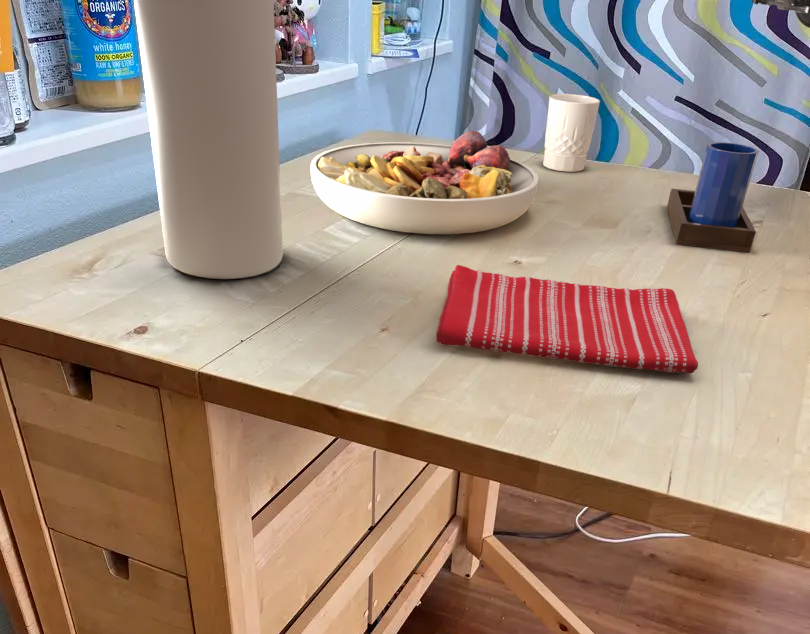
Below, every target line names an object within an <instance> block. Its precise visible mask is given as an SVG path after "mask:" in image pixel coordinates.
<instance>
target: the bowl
mask: <svg viewBox="0 0 810 634" xmlns="http://www.w3.org/2000/svg"><path fill="white" fill-rule="evenodd" d="M310 177H311V182H312V185H313V188H314V190H315V192H316V194H317V196H318V197H319V199H320V200H321V201H322V202H323V203H324V205H326V206H327V207H329V208H330V209H331V210H332V211H334V212H335V213H337V214H339V215H340V216H343V217H345V218H347V219H349V220H352V221H354V222H357V223H359V224H363V225H367V226H370V227H375V228H379V229H382V230H383V229H384V230H387V231H388V230H389V231H395V232H401V233H409V234H422V235H459V234H460V235H461V234H462V235H463V234H471V233H479V232H485V231H490V230H493V229H498V228H500V227H503V226H505V225H507V224H510V223H512V222H514V221H516V220H517V219H519V218H520V217H521V216H522V215H523V214H525V213H526V212H527V211H528V209H530V207H531V206H532V204H533V202H534V200H535V199H536V196H537V193H538V188H539V182H540V178H539V175H538V173H537V172H536V171H535V170H534V169H533V168H531V167H530V166H529V165H527V164H525V163H523V162H521V161H518V160H517V159H515V158H511V157H510V155H509V152H508V150H506V148H505V147H504V146H502V145H499V144H497V145H496V144H495V145H489V146H488V145H487V141H486V138H485V136H483V134H482V133H480V132H479V131H477V130H469V131H465V132H463V133H462V134H461V135H460V136H458V137H457V138H456V139H455V140H454V141H453V143H452V145H450V144H443V143H442V144H441V143H430V142H429V143H428V142H412V141H411V142H410V141H409V142H408V141H383V142H367V143H356V144H350V145H344V146H339V147H335V148H331V149H328V150H325V151H322V152H320V153H319V154H317V155H316V156H314V157H313V159H311V162H310Z"/></svg>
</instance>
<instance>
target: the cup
mask: <svg viewBox="0 0 810 634" xmlns="http://www.w3.org/2000/svg"><path fill="white" fill-rule="evenodd" d="M758 155H759V150H758V149H757V148H755V147H753V146H750V145H746V144H741V143H735V142H726V141H725V142H723V141H722V142H721V141H717V142H709V143H707V145H706V149H705V153H704V155H703V160H702V164H701V168H700V172H699V175H698V180H697V182H696V186H695V190H694V191H695V194H694V198H693V202H692V206H691V209H690V213H689V217H688V221H687V223H688V222H689V223H698V224H708V225H717V226H726V227H735V228H736V226H737V223H738V219H739V216H740V213H741V209H742V206H743V207H744V202H745V199H746V196H747V192H748V189H749V186H750V183H751V179H752V177H753V176H752V175H753V172H754V169H755V165H756V163H757V160H758Z"/></svg>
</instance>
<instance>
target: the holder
mask: <svg viewBox="0 0 810 634" xmlns="http://www.w3.org/2000/svg"><path fill="white" fill-rule="evenodd" d="M694 194H695V190H689V189H680V188H671V189H670V192H669V197H668V201H667V205H666V209H667V214H668V217H669V221H670V225H671V229H672V233H673V236H674V241H675V244H676V245H679V246H680V245H681V246H690V247H697V248H708V249H715V250H725V251H734V252H743V253H750V252H751V250H752V246H753V243H754V239H755V236H756V233H757V231H756V228H755V227H754V225H753V222H752V221H751V219H750V217H749V215H748V213H747V212H746V209H745V207H744V205H743V206H742V209H741V213H740V216H739V219H738V223H737V226H736V228H735V227H726V226H717V225H708V224H698V223H689V222H688V223H687V221H688V217H689V213H690V209H691V206H692V202H693V198H694Z"/></svg>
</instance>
